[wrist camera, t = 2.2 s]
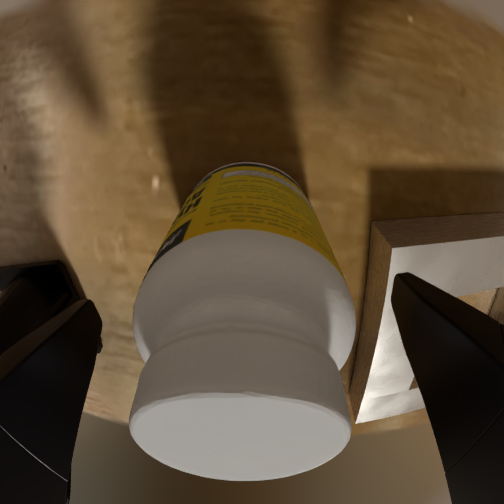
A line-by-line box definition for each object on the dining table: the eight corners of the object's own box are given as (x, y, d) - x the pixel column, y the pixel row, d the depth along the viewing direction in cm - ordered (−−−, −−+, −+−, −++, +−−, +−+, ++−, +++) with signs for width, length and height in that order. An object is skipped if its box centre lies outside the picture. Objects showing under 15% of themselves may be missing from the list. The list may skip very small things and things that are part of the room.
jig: (348, 394, 19) (355, 423, 17) (371, 221, 13) (392, 248, 11) (491, 358, 18) (503, 379, 16) (545, 210, 12) (570, 228, 10)
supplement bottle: (197, 144, 12) (66, 303, 3) (328, 179, 12) (460, 369, 4) (174, 260, 14) (107, 465, 5) (287, 286, 15) (317, 492, 6)
